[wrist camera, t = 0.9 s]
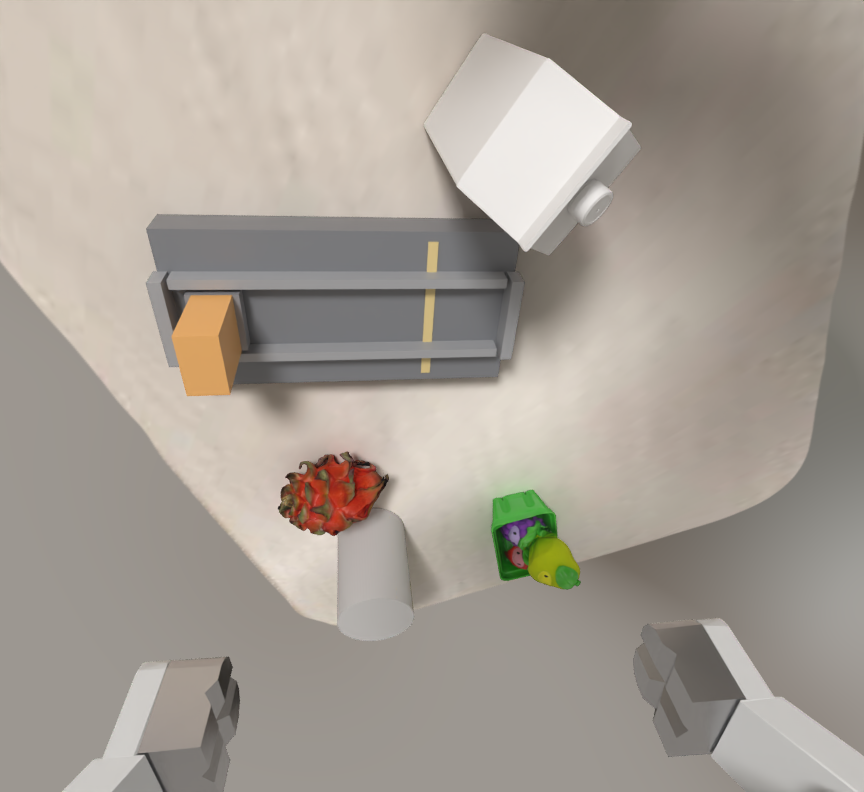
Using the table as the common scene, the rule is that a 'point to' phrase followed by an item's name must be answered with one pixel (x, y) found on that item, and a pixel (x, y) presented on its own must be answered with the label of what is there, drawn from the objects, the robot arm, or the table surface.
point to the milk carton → (529, 143)
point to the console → (347, 293)
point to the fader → (210, 340)
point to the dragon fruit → (330, 495)
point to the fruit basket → (531, 542)
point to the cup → (374, 578)
